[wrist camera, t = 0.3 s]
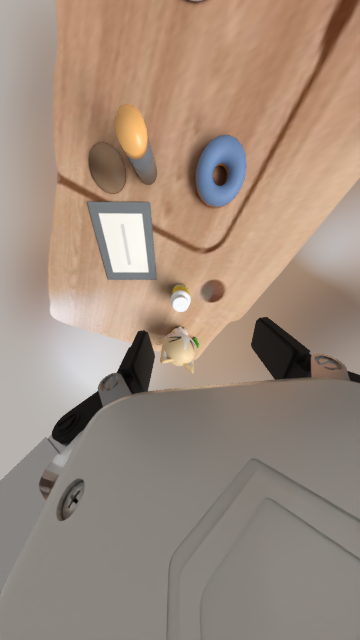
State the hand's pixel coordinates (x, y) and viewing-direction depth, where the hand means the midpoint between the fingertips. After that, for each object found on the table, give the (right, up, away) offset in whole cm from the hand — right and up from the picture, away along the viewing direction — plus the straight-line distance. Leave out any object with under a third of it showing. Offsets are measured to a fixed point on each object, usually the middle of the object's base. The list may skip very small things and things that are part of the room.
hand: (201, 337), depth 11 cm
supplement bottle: (-2, +10, +29) cm, 31 cm away
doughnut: (+6, +32, +17) cm, 37 cm away
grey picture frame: (-16, +21, +22) cm, 34 cm away
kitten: (-2, -3, +37) cm, 37 cm away
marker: (-9, +33, +16) cm, 37 cm away
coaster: (-17, +33, +15) cm, 40 cm away
